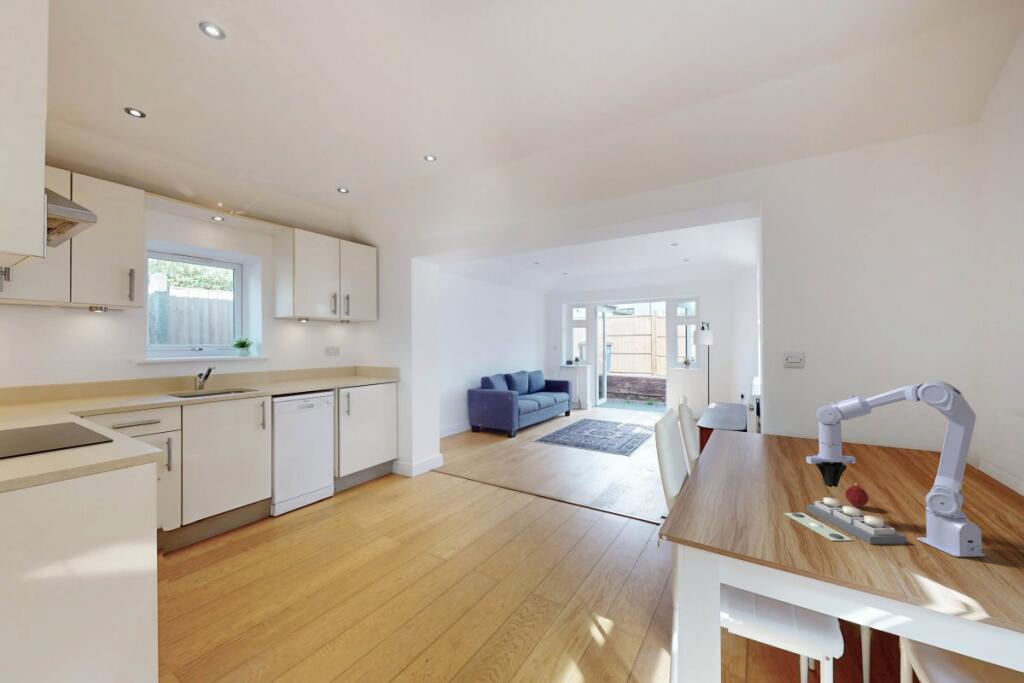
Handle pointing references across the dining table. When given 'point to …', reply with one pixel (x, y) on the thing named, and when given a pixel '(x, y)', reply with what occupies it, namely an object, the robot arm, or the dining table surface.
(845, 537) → the card
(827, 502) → the button far
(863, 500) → the onion
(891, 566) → the dining table surface
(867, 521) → the button near
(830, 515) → the button board
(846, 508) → the button middle
